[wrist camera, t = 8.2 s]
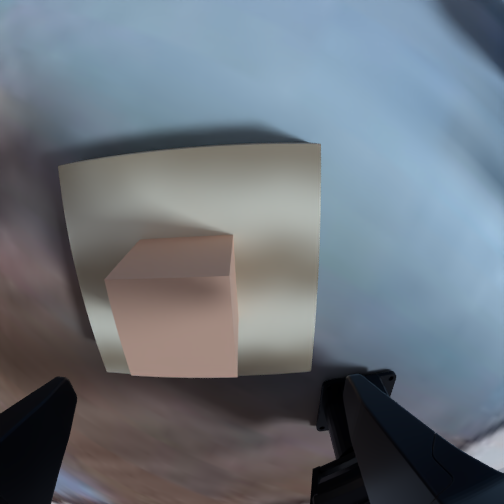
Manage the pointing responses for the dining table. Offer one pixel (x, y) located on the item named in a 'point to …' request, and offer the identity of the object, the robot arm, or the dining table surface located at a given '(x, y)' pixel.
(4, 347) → the dining table surface
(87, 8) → the dining table surface
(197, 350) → the cube
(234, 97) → the dining table surface
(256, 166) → the plinth
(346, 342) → the dining table surface
